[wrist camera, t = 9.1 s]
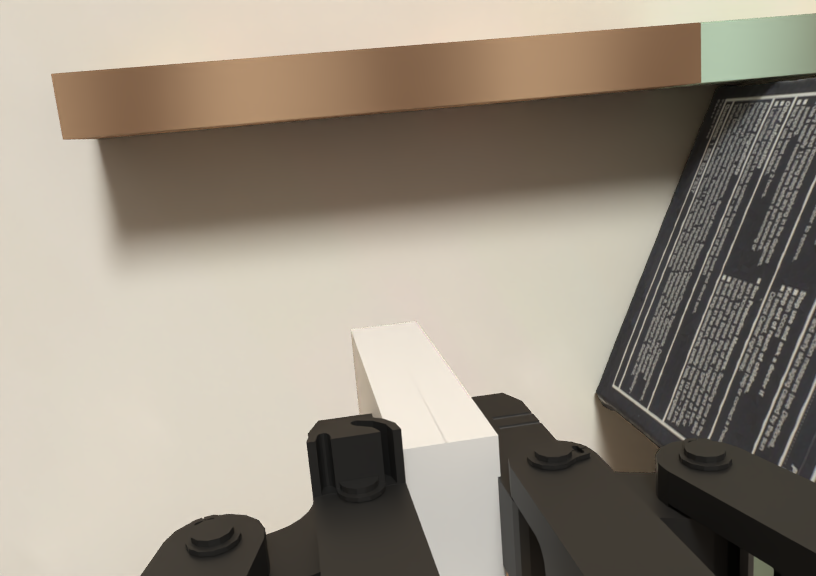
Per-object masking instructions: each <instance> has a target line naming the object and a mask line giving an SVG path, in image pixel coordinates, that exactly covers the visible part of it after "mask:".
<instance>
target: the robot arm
mask: <svg viewBox="0 0 816 576" xmlns="http://www.w3.org/2000/svg"><path fill="white" fill-rule="evenodd" d="M351 336H352V346H353V356H354V366H355V375H356V385H357V395H358V405H359V414H360V415H356V416H349V417H342V418H335V419H328V420H321V421H318V422H317V423H316V424H315V426H314V427H313V428H312V429H311V430H310V432H309V433H308V440H307V450H308V459H309V467H310V475H311V484H312V492H313V501H314V502H313V505H312V507H311V509H310V510H309V512H308V513H307V514H306V515H304V516H303V517H302V518H301V519H300V520H298V521H296V522H295V523H293V524H291V525H290V526H288V527H285V528H283V529H280V530H278V531H275V532H273V533H270V534H267V535H266V532H265V528H264V527H263V525H262V524H261V523H260V521H259V520H257V519H254V518H252V517H249V516H247V515H235V514H226V515H219V516H218V515H211V516H207V517H204V519H202V518H200V519H197V520H195V521H193V522H191V523H190V524H188V525H186V526H184V527H182V528H181V529H179V530H177V531H175V532H174V533H173V534H172V535H171V536H170V537H169V538H168V539H167V540H166V541H165V542H164V543H163V544H162V546H161V547H160V549H159V550H158V551H157V553H156V554H155V556H154V557H153V559H152V560H151V561H150V563H149V564H148V566H147V567H146V569H145V570H144V571H143V573H142V574H141V576H507V575H506V572H507V573H508V575H509V576H754V556H755V557H756V558H758V559H759V560H761V561H763V562H764V563H766V564H768V565H769V566H771V567H772V568H773V569H774V576H816V483H815V482H813V481H811V480H808V479H806V478H804V477H802V476H800V475H798V474H795V473H793V472H791V471H789V470H787V469H785V468H782V467H780V466H778V465H776V464H774V463H771V462H769V461H767V460H765V459H763V458H761V457H758V456H756V455H754V454H752V453H750V452H748V451H745V450H743V449H741V448H738V447H736V446H733V445H730V444H727V443H723V442H717V441H712V440H710V439H707V438H698V440H696V439H695V438H687V439H684V440H682V441H677V442H671V443H669V444H667V445H665V446H663V447H661V448H660V449H659V450H658V452H657V453H656V455H655V457H656V473H629V472H614V471H613V470H612V469H611V468H610V467H609V466H608V464H607V463H606V462H605V461H604V460H603V459H602V458H601V457H600V456H599V455H598V454H597V453H596V452H594V451H593V450H591V449H590V448H588V447H587V446H584V445H581V444H577V443H574V442H568V441H558V440H556V439H555V438H554V437H553V436H552V435H551V433H550V432H549V431H548V430H547V429H546V428H545V427H544V426H543V424H542V423H539V420H538V419H537V418H536V417H535V415H534V414H531V411H530V410H529V409H528V408H527V406H526V405H525V404H524V403H523V402H522V401H521V400H518V399H516V398H514V397H511V396H509V395H506V394H504V393H498V394H491V395H484V396H477V397H470V395H469V394H468V392H467V391H466V390H465V388H464V387H463V385H462V384H461V383H460V381H459V380H458V378H457V377H456V376H455V374H454V373H453V371H452V370H451V369H450V367H449V366H448V364H447V363H446V362H445V360H444V359H443V357H442V356H441V355H440V353H439V352H438V350H437V349H436V348H435V346H434V345H433V343H432V342H431V340H430V339H429V338H428V336H427V335H426V333H425V332H424V331H423V329H422V328H421V326H420V325H419V324H418V322H417V321H413V322H405V323H397V324H389V325H381V326H372V327H364V328H356V329H351Z"/></svg>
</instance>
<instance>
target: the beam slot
mask: <svg viewBox="0 0 816 576" xmlns="http://www.w3.org/2000/svg"><path fill="white" fill-rule="evenodd" d="M809 75H816V13H815V14H802V15H790V16H777V17H765V18H752V19H739V20H727V21H714V22H701V23H689V24H676V25H663V26H651V27H638V28H625V29H613V30H600V31H587V32H575V33H562V34H549V35H537V36H524V37H512V38H499V39H486V40H474V41H461V42H448V43H436V44H423V45H410V46H398V47H385V48H372V49H360V50H347V51H334V52H322V53H309V54H296V55H284V56H271V57H259V58H246V59H233V60H221V61H208V62H195V63H183V64H170V65H157V66H145V67H132V68H119V69H107V70H94V71H81V72H69V73H56V74H51V76H52V82H53V87H54V93H55V98H56V103H57V109H58V114H59V120H60V125H61V131H62V136H63V139H101V138H113V137H124V136H135V135H146V134H158V133H169V132H180V131H191V130H202V129H214V128H225V127H236V126H247V125H259V124H270V123H281V122H292V121H303V120H315V119H326V118H337V117H348V116H360V115H371V114H382V113H393V112H405V111H416V110H427V109H438V108H449V107H461V106H472V105H483V104H494V103H506V102H517V101H528V100H539V99H551V98H562V97H573V96H584V95H595V94H607V93H618V92H629V91H640V90H652V89H663V88H674V87H685V86H697V85H708V84H719V83H730V82H741V81H753V80H764V79H775V78H786V77H798V76H809ZM506 575H507V576H509V575H508V573H507V572H506ZM754 576H774V569H773V568H772V567H771V566H769V565H768V564H766V563H764V562H763V561H761V560H759V559H758V558H756V557H755V556H754Z"/></svg>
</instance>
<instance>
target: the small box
mask: <svg viewBox="0 0 816 576" xmlns="http://www.w3.org/2000/svg"><path fill="white" fill-rule="evenodd" d="M596 394H597V395H598V397H599V400H600V401H601V403H602V405H603V406H604V407H606V408H608V409H610V410H614V411H616V412H618V413H619V414H620V415H622V417H624V418H625V419H626V420H627V421H629V422H630V423H631V424H632V425H634V426H635V427H636V428H637V429H638V430H639V431H641V432H642V433H643V434H645V435H646V436H647V437H648V438H649V439H650V440H651V441H652V442H654V443H655V444H656V445H657V446H658V447H659V448H661V447H663V446H665V445H667V444H669V443H671V442H677V441H682V440H684V439H687V438H695V439H696V440H698V438H707V439H710V440H712V441H717V442H723V443H727V444H730V445H733V446H736V447H738V448H741V449H743V450H745V451H748V452H750V453H752V454H754V455H756V456H758V457H761V458H763V459H765V460H767V461H769V462H771V463H774V464H776V465H778V466H780V467H782V468H785V469H787V470H789V471H791V472H793V473H795V474H798V475H800V476H802V477H804V478H806V479H808V480H811V481H813V482H815V483H816V78H807V79H800V80H796V81H779V82H770V83H766V84H760V85H757V84H753V85H745V86H737V85H724V86H721V87H718V88H717V89H716V91H715V93H714V96H713V98H712V101H711V104H710V106H709V109H708V111H707V114H706V116H705V118H704V121H703V123H702V126H701V128H700V130H699V133H698V135H697V138H696V140H695V143H694V146H693V148H692V150H691V153H690V156H689V158H688V161H687V163H686V166H685V168H684V171H683V173H682V176H681V178H680V181H679V183H678V186H677V188H676V190H675V192H674V196H673V199H672V201H671V204H670V206H669V208H668V211H667V213H666V216H665V218H664V221H663V223H662V226H661V229H660V231H659V234H658V236H657V239H656V241H655V244H654V247H653V249H652V252H651V254H650V256H649V259H648V261H647V264H646V266H645V269H644V272H643V274H642V277H641V279H640V282H639V284H638V286H637V289H636V292H635V294H634V297H633V299H632V302H631V304H630V307H629V309H628V312H627V314H626V317H625V320H624V322H623V324H622V327H621V329H620V332H619V335H618V337H617V340H616V342H615V345H614V348H613V350H612V353H611V355H610V358H609V361H608V363H607V365H606V368H605V371H604V374H603V376H602V379H601V381H600V384H599V386H598V388H597V390H596Z"/></svg>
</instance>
